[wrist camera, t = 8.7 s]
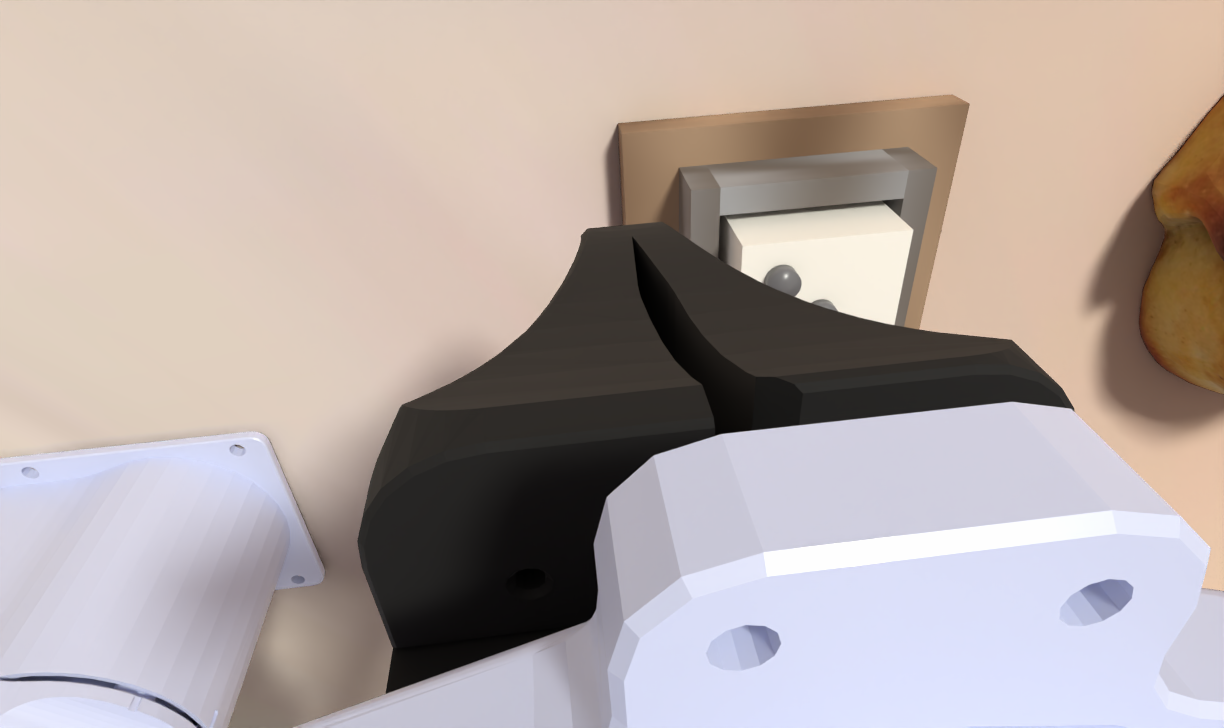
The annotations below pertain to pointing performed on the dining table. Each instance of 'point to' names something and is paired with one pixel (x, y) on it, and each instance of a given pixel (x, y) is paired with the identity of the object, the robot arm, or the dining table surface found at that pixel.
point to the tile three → (824, 255)
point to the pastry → (1190, 261)
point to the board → (800, 170)
